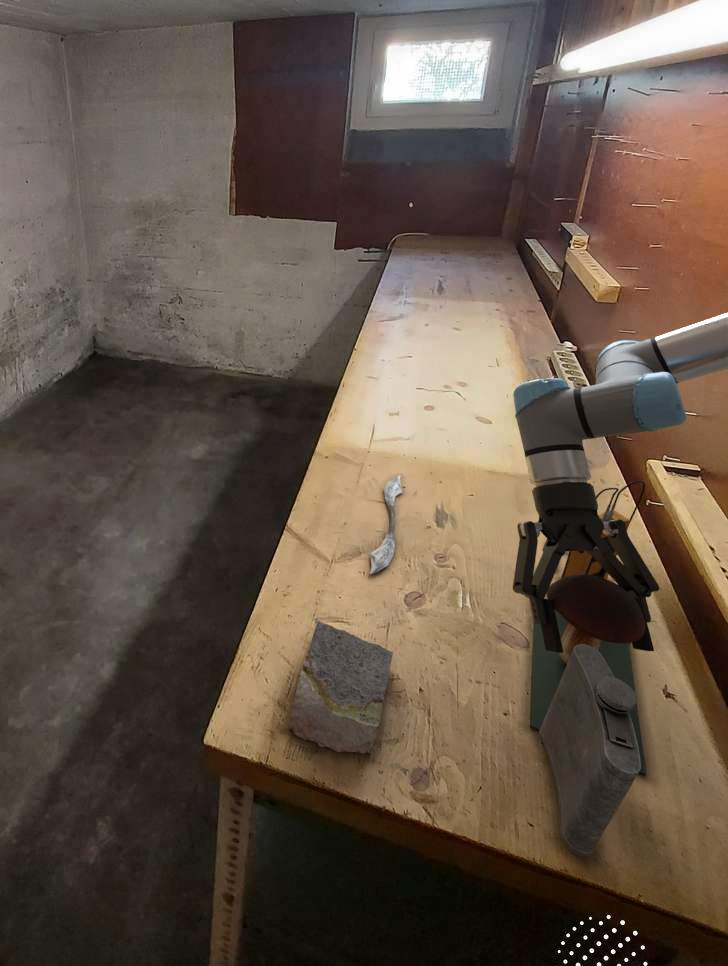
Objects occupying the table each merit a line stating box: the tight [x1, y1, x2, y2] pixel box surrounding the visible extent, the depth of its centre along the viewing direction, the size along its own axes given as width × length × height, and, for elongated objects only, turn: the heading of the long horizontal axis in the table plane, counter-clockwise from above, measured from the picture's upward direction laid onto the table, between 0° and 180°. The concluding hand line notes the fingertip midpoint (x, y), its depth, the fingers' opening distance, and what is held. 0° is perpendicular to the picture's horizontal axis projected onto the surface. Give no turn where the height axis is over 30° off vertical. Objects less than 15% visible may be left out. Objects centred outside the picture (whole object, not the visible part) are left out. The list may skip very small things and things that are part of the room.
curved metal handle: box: [369, 473, 404, 575], centre depth 108 cm, size 32×1×5 cm
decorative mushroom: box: [546, 575, 645, 664], centre depth 76 cm, size 11×11×15 cm
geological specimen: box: [288, 620, 394, 756], centre depth 75 cm, size 11×6×15 cm
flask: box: [539, 644, 641, 858], centre depth 61 cm, size 4×14×18 cm, turn 161°
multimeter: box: [559, 480, 646, 580], centre depth 92 cm, size 15×10×20 cm
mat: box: [529, 610, 647, 776], centre depth 78 cm, size 12×24×1 cm, turn 150°
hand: (599, 650), depth 74 cm, fingers closed on decorative mushroom, 11 cm apart
